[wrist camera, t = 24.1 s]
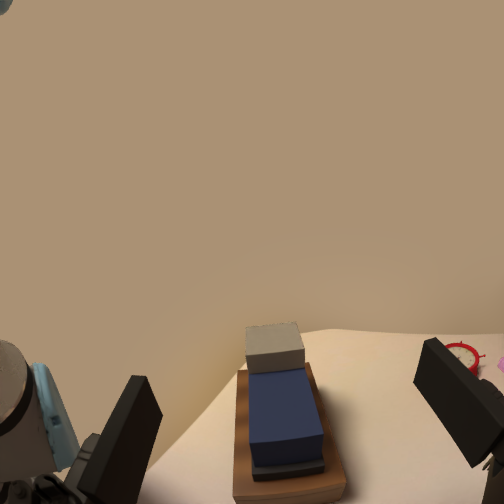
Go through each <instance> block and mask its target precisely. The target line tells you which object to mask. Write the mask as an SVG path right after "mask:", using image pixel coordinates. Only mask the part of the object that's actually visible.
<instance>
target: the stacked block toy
mask: <svg viewBox="0 0 504 504" xmlns="http://www.w3.org/2000/svg"><path fill="white" fill-rule="evenodd" d="M246 362H247V368H248V384H249V446H250V450H251V464H252V477H253V481H254V482H256V481H270V480H280V479H289V478H296V477H303V476H309V475H315V474H320V473H324V469H325V462H324V458H323V454H322V446H323V438H324V432H323V428H322V425H321V421H320V418H319V414H318V411H317V407H316V404H315V400H314V397H313V394H312V390H311V387H310V383H309V380H308V376H307V373H306V370H305V348H304V345H303V342H302V339H301V336H300V333H299V330H298V327H297V324H296V322H288V323H282V324H281V323H280V324H272V325H263V326H254V327H246Z"/></svg>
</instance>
